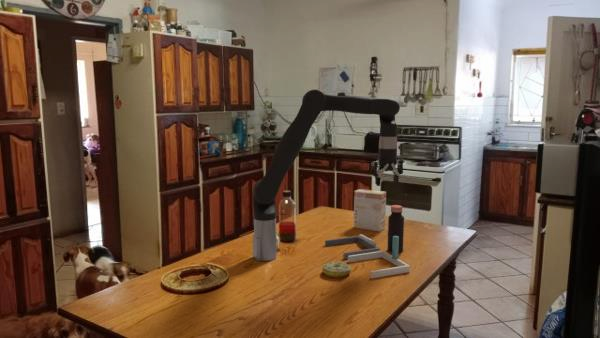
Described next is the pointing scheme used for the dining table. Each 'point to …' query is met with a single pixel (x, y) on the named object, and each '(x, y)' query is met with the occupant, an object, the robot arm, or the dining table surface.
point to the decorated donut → (336, 269)
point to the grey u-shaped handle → (360, 239)
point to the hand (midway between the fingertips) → (386, 184)
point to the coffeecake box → (369, 209)
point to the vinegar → (395, 227)
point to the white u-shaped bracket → (392, 258)
